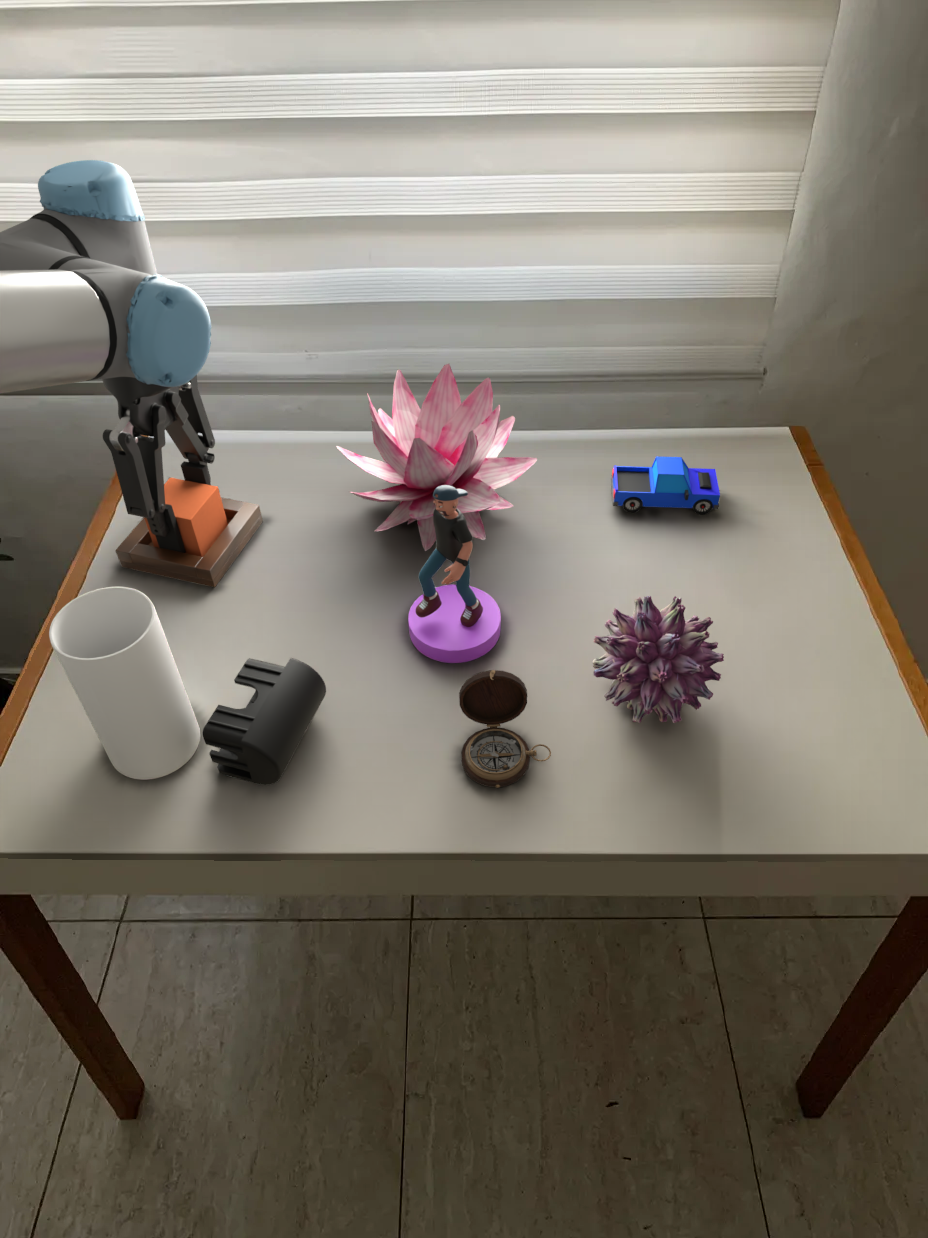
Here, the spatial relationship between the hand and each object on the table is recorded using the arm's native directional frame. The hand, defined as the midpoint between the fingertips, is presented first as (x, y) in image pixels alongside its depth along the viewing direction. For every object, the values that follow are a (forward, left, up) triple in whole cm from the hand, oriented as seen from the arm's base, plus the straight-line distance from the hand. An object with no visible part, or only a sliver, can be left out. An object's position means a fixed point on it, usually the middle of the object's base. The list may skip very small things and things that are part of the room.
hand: (190, 530), depth 102 cm
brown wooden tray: (0, 0, -2) cm, 2 cm away
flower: (+32, -43, -2) cm, 54 cm away
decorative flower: (+27, -8, -2) cm, 28 cm away
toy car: (+51, -19, -2) cm, 54 cm away
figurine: (+20, -26, -2) cm, 33 cm away
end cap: (-1, -31, -2) cm, 31 cm away
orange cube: (0, 0, -1) cm, 1 cm away
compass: (+17, -42, -2) cm, 45 cm away
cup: (-11, -26, -2) cm, 28 cm away
